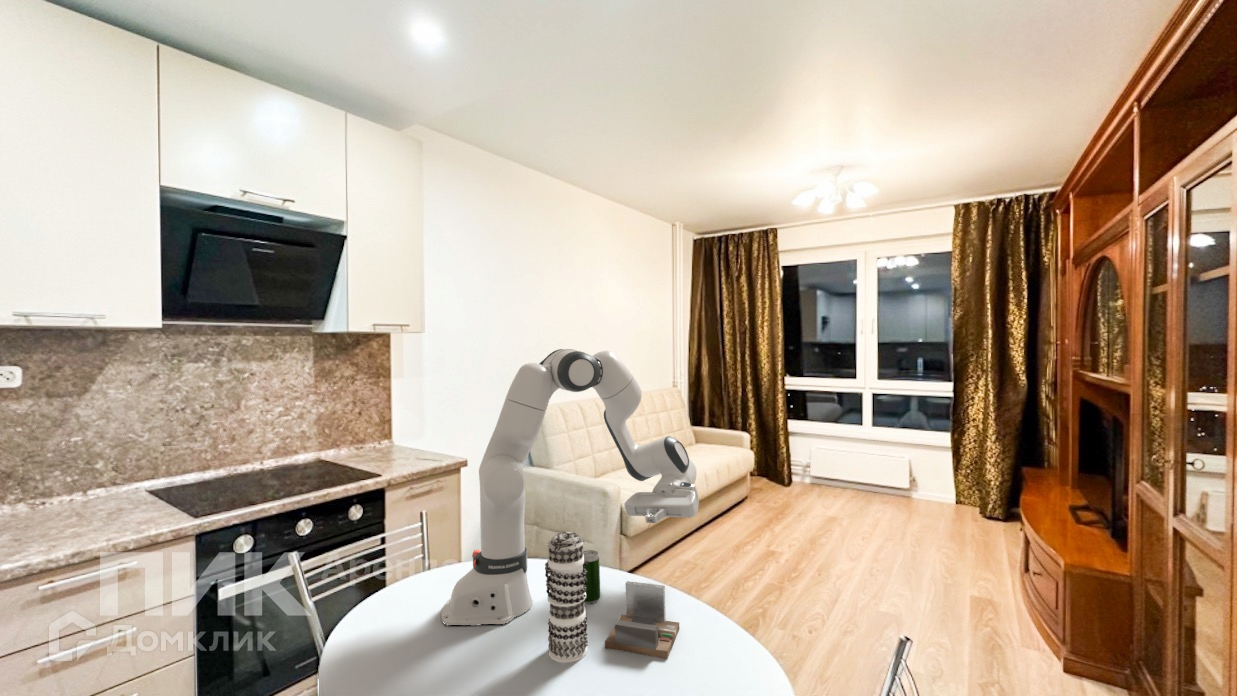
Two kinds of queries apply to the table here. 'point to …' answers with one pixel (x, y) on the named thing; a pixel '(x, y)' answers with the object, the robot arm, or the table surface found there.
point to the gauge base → (656, 653)
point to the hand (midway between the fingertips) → (650, 520)
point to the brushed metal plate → (646, 604)
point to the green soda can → (592, 576)
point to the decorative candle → (566, 598)
